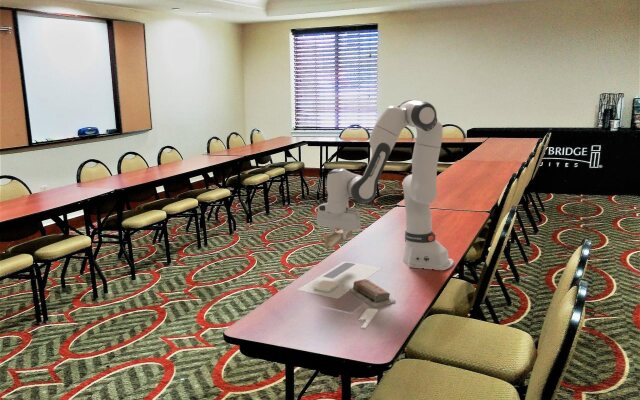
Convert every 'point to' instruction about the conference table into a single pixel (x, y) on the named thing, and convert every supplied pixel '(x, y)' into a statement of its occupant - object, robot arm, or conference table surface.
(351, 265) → the mat
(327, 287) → the tile
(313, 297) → the conference table surface
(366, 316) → the white notched flat strip
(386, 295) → the packaged product
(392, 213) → the conference table surface
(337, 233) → the long tan strip
